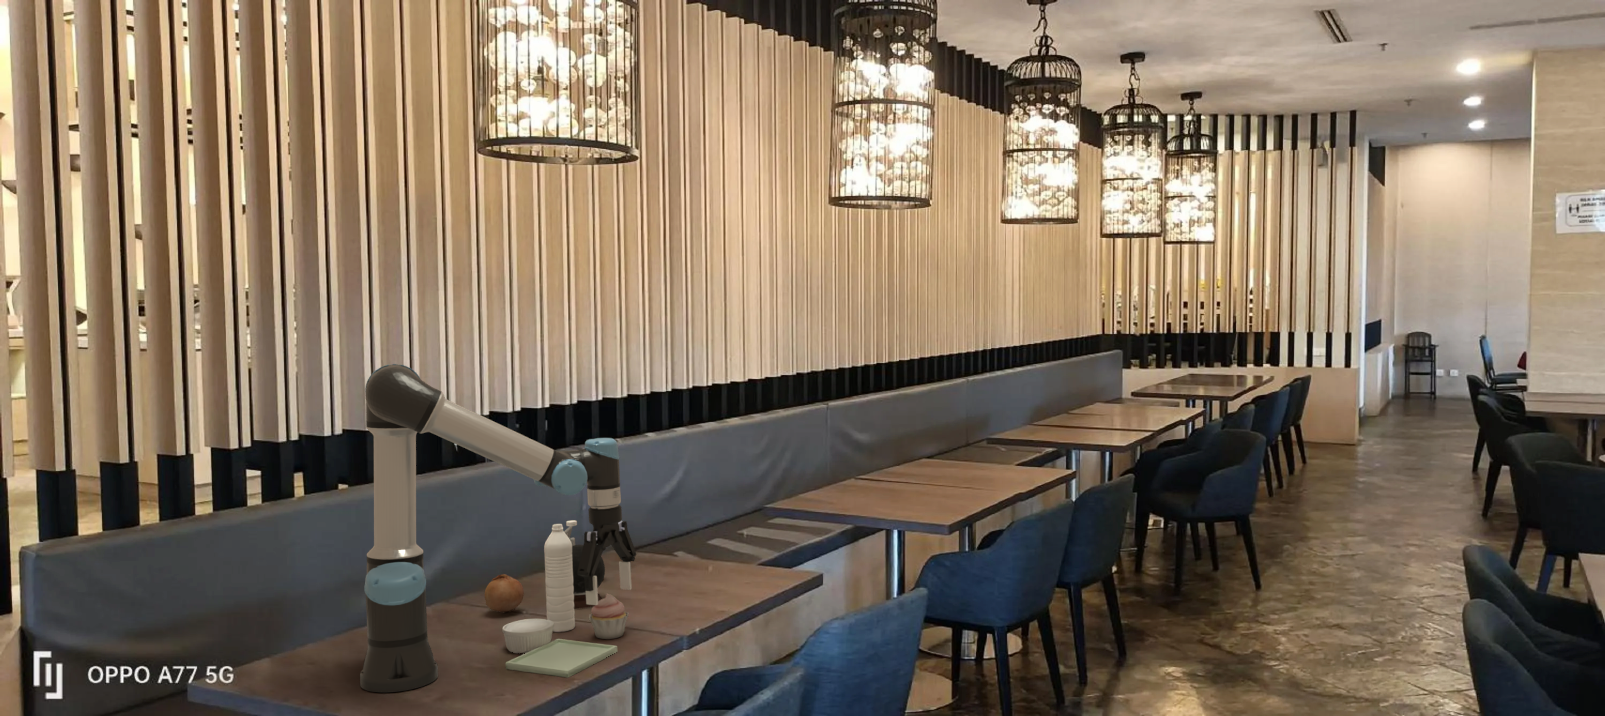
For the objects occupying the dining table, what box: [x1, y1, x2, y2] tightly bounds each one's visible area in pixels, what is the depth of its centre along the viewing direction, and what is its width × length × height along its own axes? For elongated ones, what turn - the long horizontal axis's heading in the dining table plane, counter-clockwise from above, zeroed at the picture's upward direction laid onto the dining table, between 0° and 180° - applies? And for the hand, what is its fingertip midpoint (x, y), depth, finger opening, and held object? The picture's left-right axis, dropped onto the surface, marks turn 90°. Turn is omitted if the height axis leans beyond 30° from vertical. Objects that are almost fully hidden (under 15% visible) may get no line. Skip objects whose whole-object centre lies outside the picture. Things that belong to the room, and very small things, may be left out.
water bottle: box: [543, 519, 578, 633], centre depth 271 cm, size 9×6×25 cm
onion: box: [484, 573, 525, 614], centre depth 285 cm, size 10×9×10 cm
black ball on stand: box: [572, 544, 606, 610], centre depth 294 cm, size 13×13×15 cm
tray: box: [505, 638, 618, 678], centre depth 246 cm, size 18×16×1 cm
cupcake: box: [588, 592, 629, 640], centre depth 264 cm, size 9×9×10 cm
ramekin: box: [501, 618, 554, 655], centre depth 256 cm, size 11×11×5 cm
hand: (609, 596), depth 264 cm, fingers open, 13 cm apart
